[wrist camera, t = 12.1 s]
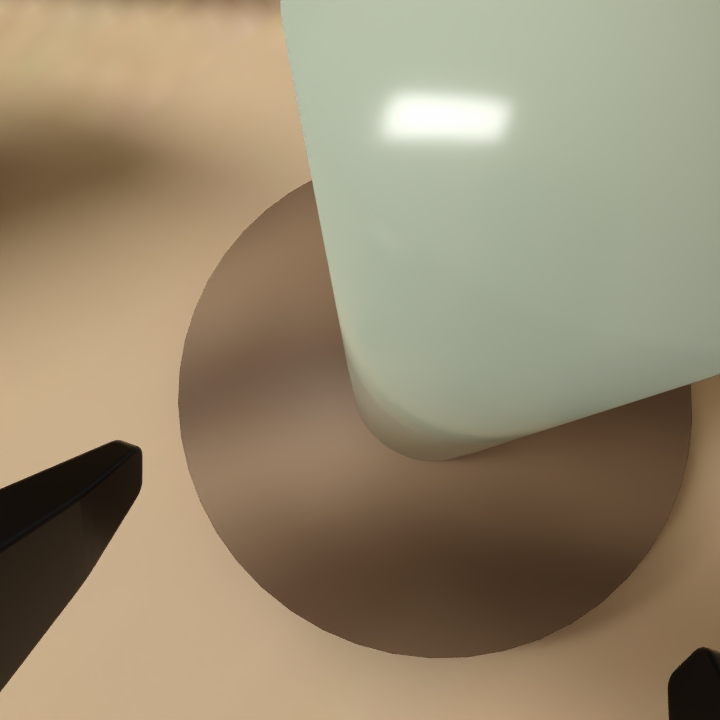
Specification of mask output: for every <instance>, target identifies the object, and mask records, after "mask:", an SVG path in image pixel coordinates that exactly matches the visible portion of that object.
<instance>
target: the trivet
mask: <svg viewBox="0 0 720 720" xmlns="http://www.w3.org/2000/svg"><path fill="white" fill-rule="evenodd" d="M178 406H179V418H180V429H181V438H182V443H183V447H184V452H185V456H186V461H187V465H188V470H189V472H190V475H191V478H192V480H193V483H194V486H195V489H196V491H197V494H198V497H199V499H200V502H201V504H202V506H203V508H204V510H205V511H206V513H207V515H208V517H209V519H210V521H211V523H212V525H213V527H214V528H215V530H216V532H217V534H218V535H219V537H220V538H221V539H222V541H223V542H224V544H225V545H226V546H227V548H228V549H229V550H230V552H231V553H232V555H233V556H234V557H235V559H236V560H237V562H238V563H239V564H240V565H241V566H242V567H243V568H244V569H245V570H246V571H247V572H248V573H249V574H250V575H251V576H252V577H253V579H254V580H255V581H256V582H257V583H258V584H259V585H260V586H261V587H262V588H263V589H264V590H266V591H267V592H268V593H269V594H271V595H272V596H273V597H274V598H276V599H277V600H278V601H279V602H281V603H282V604H283V605H284V606H286V607H287V608H288V609H289V610H291V611H292V612H294V613H295V614H297V615H299V616H300V617H302V618H304V619H306V620H307V621H309V622H311V623H312V624H314V625H316V626H317V627H319V628H321V629H322V630H325V631H327V632H329V633H332V634H334V635H336V636H339V637H341V638H343V639H346V640H348V641H351V642H353V643H355V644H358V645H362V646H366V647H370V648H373V649H377V650H381V651H385V652H388V653H392V654H400V655H408V656H417V657H425V658H452V657H471V656H477V655H483V654H488V653H494V652H500V651H505V650H508V649H511V648H514V647H517V646H520V645H523V644H526V643H530V642H533V641H536V640H539V639H541V638H543V637H545V636H547V635H549V634H551V633H553V632H555V631H557V630H559V629H561V628H563V627H565V626H567V625H569V624H571V623H573V622H574V621H576V620H577V619H578V618H580V617H581V616H583V615H584V614H586V613H587V612H589V611H590V610H591V609H593V608H594V607H596V606H597V605H599V604H600V603H601V602H602V601H604V600H605V599H606V598H607V597H608V596H609V595H610V594H611V593H612V592H613V591H614V590H615V589H616V588H617V587H619V586H620V585H621V584H622V583H623V582H624V581H625V580H626V579H627V578H628V577H629V576H630V574H631V573H632V572H633V571H634V569H635V568H636V567H637V565H638V564H639V563H640V562H641V560H642V559H643V558H644V557H645V555H646V554H647V553H648V552H649V550H650V549H651V547H652V545H653V544H654V542H655V540H656V538H657V537H658V535H659V533H660V532H661V530H662V528H663V526H664V525H665V523H666V521H667V519H668V517H669V514H670V512H671V509H672V507H673V504H674V502H675V499H676V497H677V494H678V492H679V490H680V486H681V482H682V478H683V474H684V470H685V466H686V462H687V458H688V453H689V444H690V434H691V425H692V408H691V385H690V384H688V385H684V386H681V387H678V388H675V389H672V390H669V391H666V392H663V393H659V394H656V395H653V396H650V397H647V398H644V399H641V400H637V401H634V402H631V403H628V404H625V405H622V406H619V407H615V408H612V409H609V410H606V411H603V412H600V413H597V414H593V415H590V416H587V417H584V418H581V419H578V420H575V421H571V422H568V423H565V424H562V425H559V426H556V427H553V428H550V429H546V430H543V431H540V432H537V433H534V434H531V435H528V436H524V437H521V438H518V439H515V440H512V441H509V442H506V443H502V444H499V445H496V446H493V447H490V448H487V449H484V450H480V451H477V452H474V453H471V454H468V455H465V456H462V457H458V458H455V459H451V460H446V461H421V460H417V459H412V458H409V457H406V456H403V455H401V454H399V453H397V452H395V451H393V450H391V449H390V448H388V447H387V446H385V445H384V444H382V443H381V442H380V441H379V440H378V439H377V438H376V437H375V436H374V435H373V434H372V433H371V432H370V431H369V429H368V428H367V427H366V425H365V424H364V422H363V420H362V419H361V417H360V414H359V412H358V410H357V407H356V404H355V401H354V397H353V392H352V386H351V381H350V376H349V371H348V366H347V360H346V355H345V350H344V345H343V339H342V334H341V329H340V324H339V319H338V313H337V308H336V303H335V298H334V292H333V287H332V282H331V277H330V272H329V266H328V261H327V256H326V251H325V245H324V240H323V235H322V230H321V225H320V219H319V214H318V209H317V204H316V198H315V193H314V188H313V183H312V180H311V181H310V182H308V183H306V184H304V185H302V186H301V187H299V188H297V189H295V190H294V191H292V192H290V193H289V194H287V195H286V196H285V197H283V198H282V199H281V200H279V201H278V202H277V203H275V204H274V205H272V206H271V207H270V208H268V209H267V210H266V211H265V212H264V213H263V214H262V215H260V216H259V217H258V218H257V219H256V220H255V221H254V222H253V223H252V224H251V225H250V226H249V227H248V228H247V229H246V230H245V231H244V232H243V233H242V234H241V235H240V237H239V238H238V239H237V240H236V241H235V243H234V244H233V245H232V246H231V247H230V249H229V250H228V251H227V252H226V253H225V255H224V256H223V258H222V260H221V261H220V263H219V264H218V266H217V267H216V269H215V271H214V272H213V274H212V275H211V277H210V278H209V280H208V282H207V284H206V286H205V288H204V291H203V293H202V295H201V297H200V299H199V301H198V303H197V306H196V308H195V310H194V314H193V317H192V320H191V323H190V326H189V329H188V332H187V336H186V339H185V344H184V350H183V355H182V361H181V366H180V376H179V398H178Z"/></svg>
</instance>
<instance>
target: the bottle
mask: <svg viewBox="0 0 720 720" xmlns="http://www.w3.org/2000/svg"><path fill="white" fill-rule="evenodd" d="M281 17H282V23H283V29H284V35H285V40H286V46H287V52H288V57H289V63H290V68H291V73H292V78H293V84H294V89H295V94H296V99H297V104H298V110H299V115H300V120H301V125H302V131H303V136H304V141H305V146H306V151H307V157H308V162H309V167H310V172H311V178H312V183H313V188H314V193H315V198H316V204H317V209H318V214H319V219H320V225H321V230H322V235H323V240H324V245H325V251H326V256H327V261H328V266H329V272H330V277H331V282H332V287H333V292H334V298H335V303H336V308H337V313H338V319H339V324H340V329H341V334H342V339H343V345H344V350H345V355H346V360H347V366H348V371H349V376H350V381H351V386H352V392H353V397H354V401H355V404H356V407H357V410H358V412H359V414H360V417H361V419H362V420H363V422H364V424H365V425H366V427H367V428H368V429H369V431H370V432H371V433H372V434H373V435H374V436H375V437H376V438H377V439H378V440H379V441H380V442H381V443H382V444H384V445H385V446H387V447H388V448H390V449H391V450H393V451H395V452H397V453H399V454H401V455H403V456H406V457H409V458H412V459H417V460H421V461H446V460H451V459H455V458H458V457H462V456H465V455H468V454H471V453H474V452H477V451H480V450H484V449H487V448H490V447H493V446H496V445H499V444H502V443H506V442H509V441H512V440H515V439H518V438H521V437H524V436H528V435H531V434H534V433H537V432H540V431H543V430H546V429H550V428H553V427H556V426H559V425H562V424H565V423H568V422H571V421H575V420H578V419H581V418H584V417H587V416H590V415H593V414H597V413H600V412H603V411H606V410H609V409H612V408H615V407H619V406H622V405H625V404H628V403H631V402H634V401H637V400H641V399H644V398H647V397H650V396H653V395H656V394H659V393H663V392H666V391H669V390H672V389H675V388H678V387H681V386H684V385H688V384H691V383H694V382H697V381H700V380H703V379H706V378H710V377H713V376H716V375H719V374H720V0H281Z"/></svg>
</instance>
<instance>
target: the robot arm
mask: <svg viewBox="0 0 720 720" xmlns="http://www.w3.org/2000/svg"><path fill="white" fill-rule="evenodd" d="M141 486H142V451H141V449H140V448H139V447H138V446H135V445H133V444H130V443H127V442H124V441H121V440H116V441H112V442H109V443H107V444H105V445H102V446H100V447H98V448H95V449H93V450H91V451H88V452H86V453H84V454H81V455H79V456H76V457H74V458H72V459H69V460H67V461H65V462H62V463H60V464H58V465H55V466H53V467H51V468H48V469H46V470H44V471H41V472H39V473H37V474H34V475H32V476H30V477H27V478H25V479H23V480H20V481H18V482H16V483H13V484H11V485H9V486H6V487H4V488H1V489H0V692H1V690H2V689H3V688H4V686H5V685H6V684H7V683H8V681H9V680H10V679H11V677H12V676H13V675H14V673H15V672H16V671H17V670H18V668H19V667H20V666H21V664H22V663H23V662H24V660H25V659H26V658H27V656H28V655H29V654H30V653H31V651H32V650H33V649H34V647H35V646H36V645H37V643H38V642H39V641H40V639H41V638H42V637H43V636H44V634H45V633H46V632H47V630H48V629H49V628H50V626H51V625H52V624H53V622H54V621H55V620H56V619H57V617H58V616H59V615H60V613H61V612H62V611H63V609H64V608H65V607H66V606H67V604H68V603H69V602H70V600H71V599H72V598H73V596H74V595H75V594H76V592H77V591H78V590H79V588H80V587H81V586H82V584H83V583H84V581H85V580H86V579H87V577H88V576H89V574H90V573H91V571H92V569H93V568H94V566H95V565H96V563H97V562H98V560H99V558H100V557H101V555H102V553H103V552H104V550H105V549H106V547H107V545H108V544H109V542H110V540H111V539H112V537H113V535H114V534H115V532H116V531H117V529H118V527H119V526H120V524H121V522H122V521H123V519H124V518H125V516H126V514H127V513H128V511H129V509H130V508H131V506H132V505H133V503H134V501H135V500H136V498H137V496H138V494H139V492H140V489H141ZM668 709H669V720H720V652H718V651H715V650H712V649H709V648H705V647H702V648H698V649H697V650H695V651H694V652H693V653H692V654H691V655H690V656H689V657H688V658H687V659H686V660H685V661H684V662H683V663H682V664H681V665H680V666H679V667H678V668H677V669H676V670H675V671H674V672H673V673H672V675H671V677H670V679H669V683H668Z"/></svg>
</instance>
